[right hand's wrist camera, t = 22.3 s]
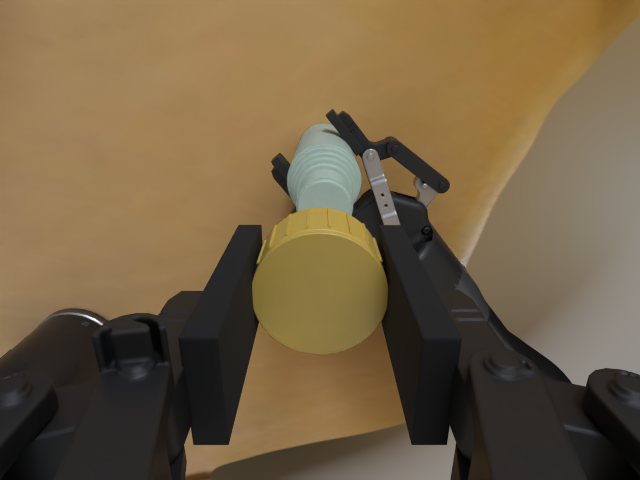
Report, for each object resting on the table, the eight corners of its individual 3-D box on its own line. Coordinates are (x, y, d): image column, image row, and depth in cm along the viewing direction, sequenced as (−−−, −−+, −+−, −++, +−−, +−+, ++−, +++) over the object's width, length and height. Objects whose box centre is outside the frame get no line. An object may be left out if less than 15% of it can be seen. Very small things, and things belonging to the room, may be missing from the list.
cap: (377, 313, 15) (387, 354, 13) (264, 315, 15) (254, 356, 13) (381, 204, 14) (393, 230, 12) (256, 206, 14) (243, 233, 12)
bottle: (308, 181, 41) (296, 261, 23) (291, 133, 39) (263, 179, 21) (355, 165, 40) (382, 235, 22) (340, 115, 38) (355, 147, 21)
